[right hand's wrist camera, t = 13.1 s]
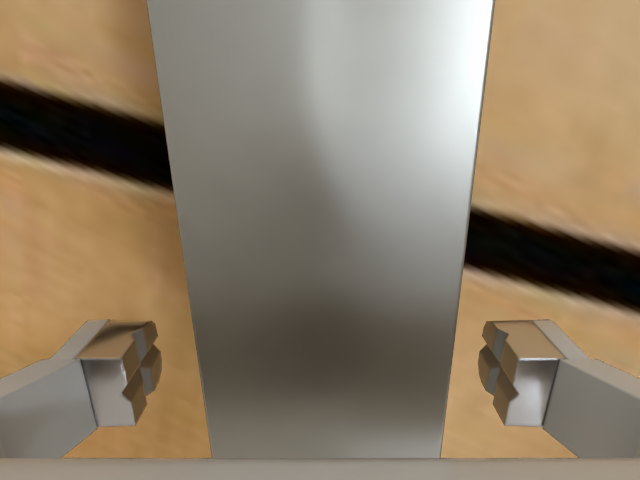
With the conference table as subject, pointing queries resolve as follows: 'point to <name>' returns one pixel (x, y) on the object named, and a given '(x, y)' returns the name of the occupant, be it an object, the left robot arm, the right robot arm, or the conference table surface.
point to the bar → (323, 213)
